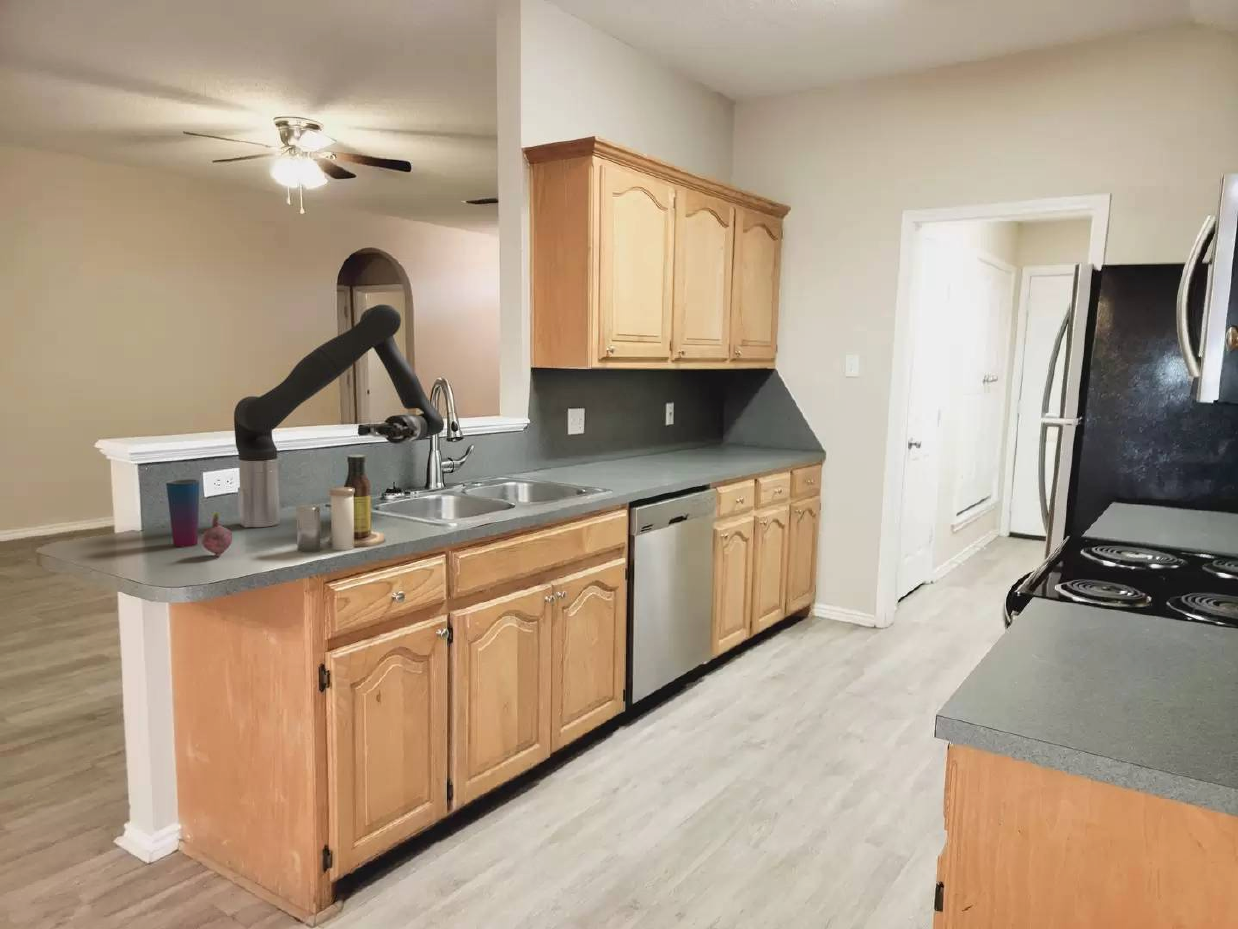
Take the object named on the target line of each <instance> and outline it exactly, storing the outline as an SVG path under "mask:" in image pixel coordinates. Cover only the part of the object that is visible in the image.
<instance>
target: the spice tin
mask: <svg viewBox="0 0 1238 929" xmlns="http://www.w3.org/2000/svg"><path fill="white" fill-rule="evenodd" d="M320 509H321V507H320V506H319V505H311V504H310V505H299V506H297V507H296V533H297V534H296V539H297V540H296V541H297V552H298V553H302V552H311V553H317V552H320V551H321V549H322V545H321V544H322V543H321V542H322V541H321V510H320Z"/></svg>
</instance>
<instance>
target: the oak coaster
mask: <svg viewBox="0 0 1238 929" xmlns="http://www.w3.org/2000/svg"><path fill="white" fill-rule="evenodd" d="M386 539H387V537H386V534H384V533H382V532H377V531H371V534H370V535H369V536H367V537H365V538H354V548H361V547H360V546H367V547H373V546H377V545H381V544H384V543H385V542H386ZM328 542H330V543H329V544H330V545H331V544H332V535H330V536H329V541H328ZM358 546H359V547H358Z"/></svg>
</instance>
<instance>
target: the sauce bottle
mask: <svg viewBox="0 0 1238 929" xmlns="http://www.w3.org/2000/svg"><path fill="white" fill-rule="evenodd" d="M346 461H347V463H348V465H347V467H348V471H347V477H346V480H345V483H344V486H343V487H352V488H355V493H354V494H353V499H354V538H365V537H367V536H369V535H370V534H371V532H372V530H371V529H372V504H371V503H372V501H371V497H372V496H371V483H370V481H369V479H368V477H367V475H366V474H365V473H366V470H365V462H366V456H365V454H349V455H347V460H346Z"/></svg>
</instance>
